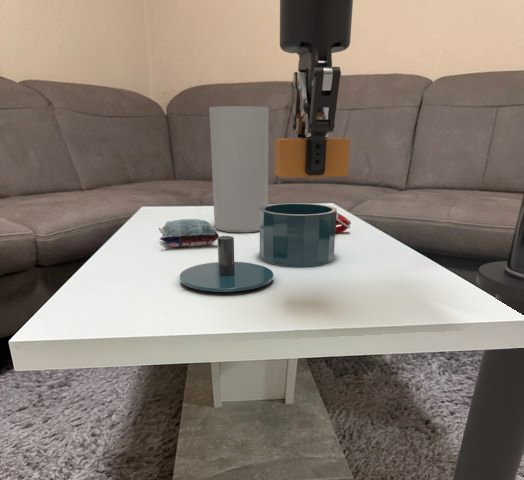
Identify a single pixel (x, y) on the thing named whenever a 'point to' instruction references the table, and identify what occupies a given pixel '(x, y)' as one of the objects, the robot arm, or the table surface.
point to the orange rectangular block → (293, 157)
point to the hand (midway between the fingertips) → (310, 172)
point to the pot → (297, 234)
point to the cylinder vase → (239, 166)
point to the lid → (226, 272)
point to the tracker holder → (342, 223)
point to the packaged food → (188, 233)
